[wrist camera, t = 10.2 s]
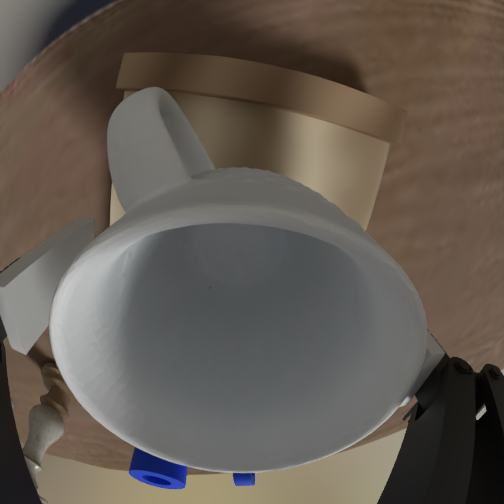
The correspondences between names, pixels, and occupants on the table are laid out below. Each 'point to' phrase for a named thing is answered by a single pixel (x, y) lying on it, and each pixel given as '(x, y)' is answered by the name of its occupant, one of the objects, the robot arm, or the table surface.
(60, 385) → the candle holder
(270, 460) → the mug
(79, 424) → the table surface
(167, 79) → the wooden tray
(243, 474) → the bracket
